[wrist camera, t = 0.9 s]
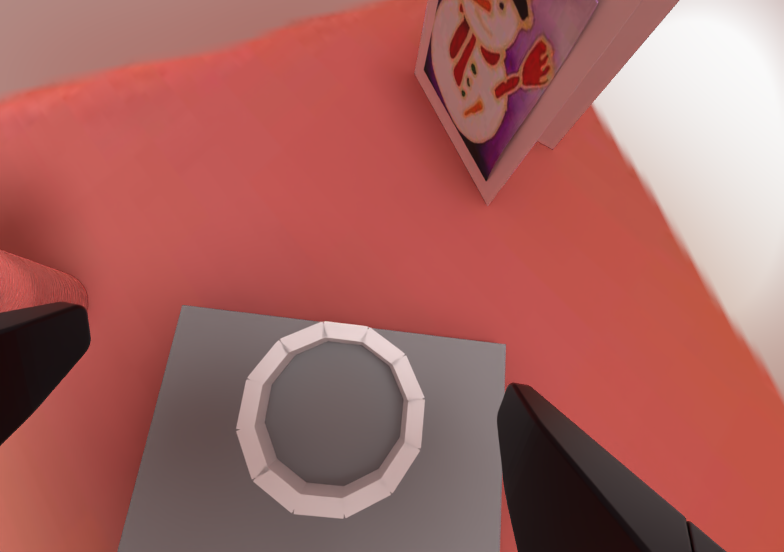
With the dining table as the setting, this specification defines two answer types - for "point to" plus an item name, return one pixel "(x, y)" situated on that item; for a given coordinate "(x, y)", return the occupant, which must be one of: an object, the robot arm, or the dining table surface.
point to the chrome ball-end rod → (35, 284)
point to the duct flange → (319, 440)
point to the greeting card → (523, 71)
